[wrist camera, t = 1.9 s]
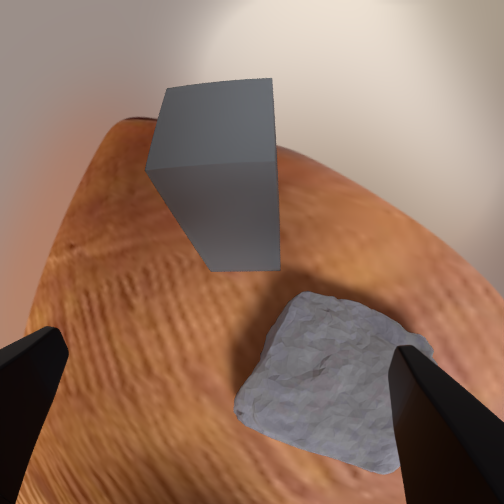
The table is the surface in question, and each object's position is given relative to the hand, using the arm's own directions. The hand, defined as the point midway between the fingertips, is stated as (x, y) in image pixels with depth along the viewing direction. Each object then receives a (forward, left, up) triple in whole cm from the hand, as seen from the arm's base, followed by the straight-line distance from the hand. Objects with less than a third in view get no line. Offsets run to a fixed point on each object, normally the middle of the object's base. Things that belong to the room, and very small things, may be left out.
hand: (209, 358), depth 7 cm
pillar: (+3, +9, -14) cm, 17 cm away
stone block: (+5, -3, -15) cm, 16 cm away
